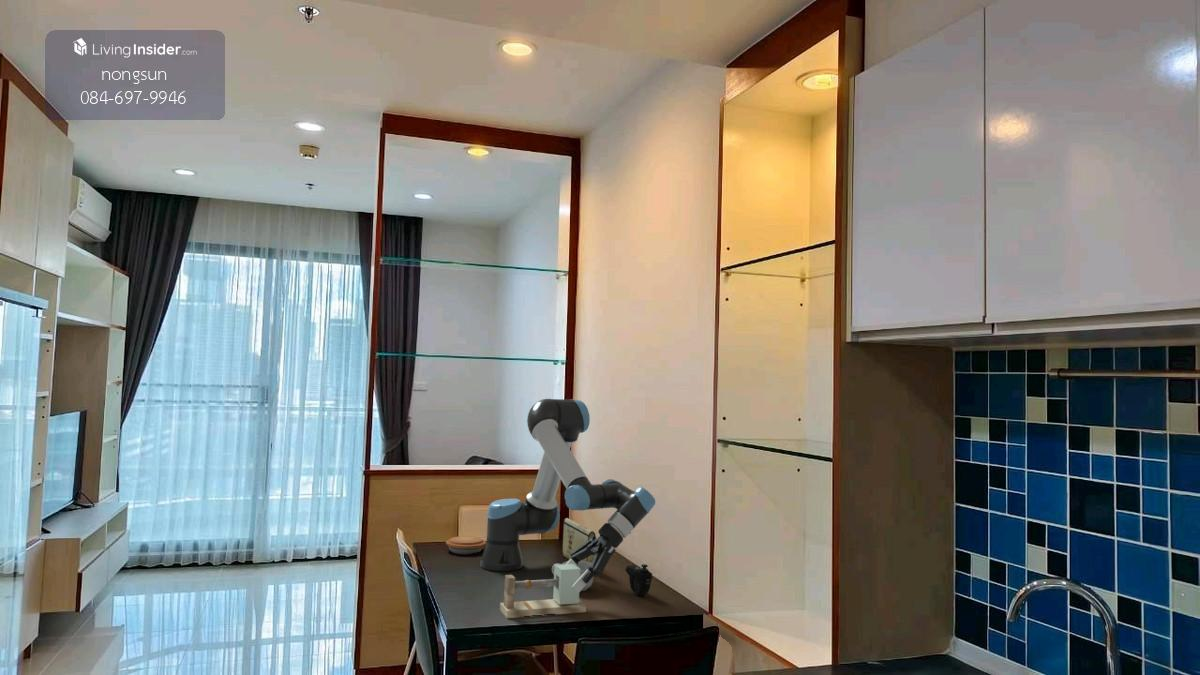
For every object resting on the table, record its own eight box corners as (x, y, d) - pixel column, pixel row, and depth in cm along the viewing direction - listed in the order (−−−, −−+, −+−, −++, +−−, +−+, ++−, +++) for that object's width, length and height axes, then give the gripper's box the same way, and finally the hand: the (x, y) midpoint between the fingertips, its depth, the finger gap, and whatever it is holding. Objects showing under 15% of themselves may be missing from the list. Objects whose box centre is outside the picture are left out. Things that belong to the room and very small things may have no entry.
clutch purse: (606, 574, 266) (608, 531, 266) (588, 575, 263) (590, 532, 264) (576, 554, 293) (577, 516, 294) (559, 555, 290) (561, 516, 291)
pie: (450, 556, 280) (450, 543, 281) (441, 547, 295) (442, 534, 295) (490, 554, 287) (490, 541, 287) (480, 546, 301) (480, 533, 301)
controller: (641, 599, 236) (642, 567, 236) (623, 589, 247) (624, 558, 247) (653, 598, 238) (654, 566, 238) (634, 588, 249) (635, 557, 249)
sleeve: (571, 597, 226) (573, 563, 227) (578, 603, 221) (580, 568, 221) (553, 598, 224) (554, 564, 225) (559, 604, 219) (561, 569, 219)
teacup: (597, 587, 248) (599, 562, 248) (586, 595, 238) (587, 570, 238) (558, 581, 253) (560, 557, 253) (546, 589, 242) (547, 564, 243)
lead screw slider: (576, 604, 228) (578, 569, 229) (586, 612, 220) (587, 575, 221) (499, 609, 219) (501, 573, 220) (506, 618, 211) (508, 580, 212)
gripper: (640, 547, 218) (590, 604, 211) (606, 530, 241) (560, 581, 235) (624, 530, 216) (573, 586, 210) (592, 514, 239) (545, 564, 233)
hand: (566, 583), depth 222 cm, fingers open, 13 cm apart
